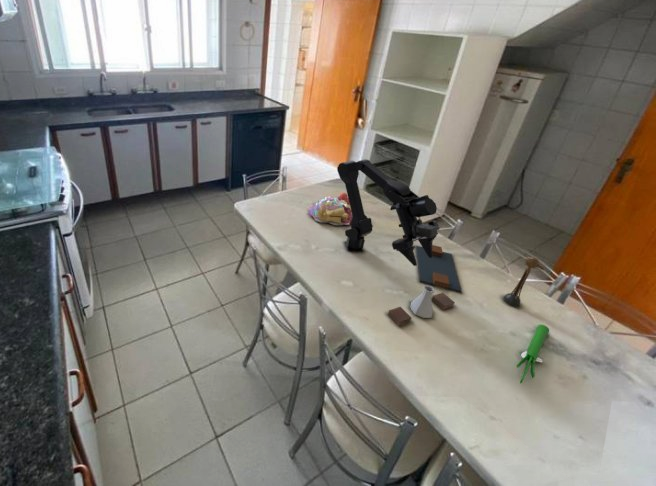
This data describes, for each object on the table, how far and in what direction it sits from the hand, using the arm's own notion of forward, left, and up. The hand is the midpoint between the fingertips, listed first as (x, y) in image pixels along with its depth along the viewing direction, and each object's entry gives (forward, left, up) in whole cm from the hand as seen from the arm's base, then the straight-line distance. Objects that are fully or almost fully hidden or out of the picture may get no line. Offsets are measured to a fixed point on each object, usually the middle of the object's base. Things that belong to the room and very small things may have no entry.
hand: (423, 261), depth 116 cm
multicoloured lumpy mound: (-20, +53, -14) cm, 58 cm away
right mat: (+15, +13, -13) cm, 24 cm away
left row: (-2, -10, -13) cm, 17 cm away
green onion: (+24, -27, -14) cm, 39 cm away
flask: (-2, -10, -14) cm, 17 cm away
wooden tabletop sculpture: (+34, -5, -14) cm, 37 cm away
